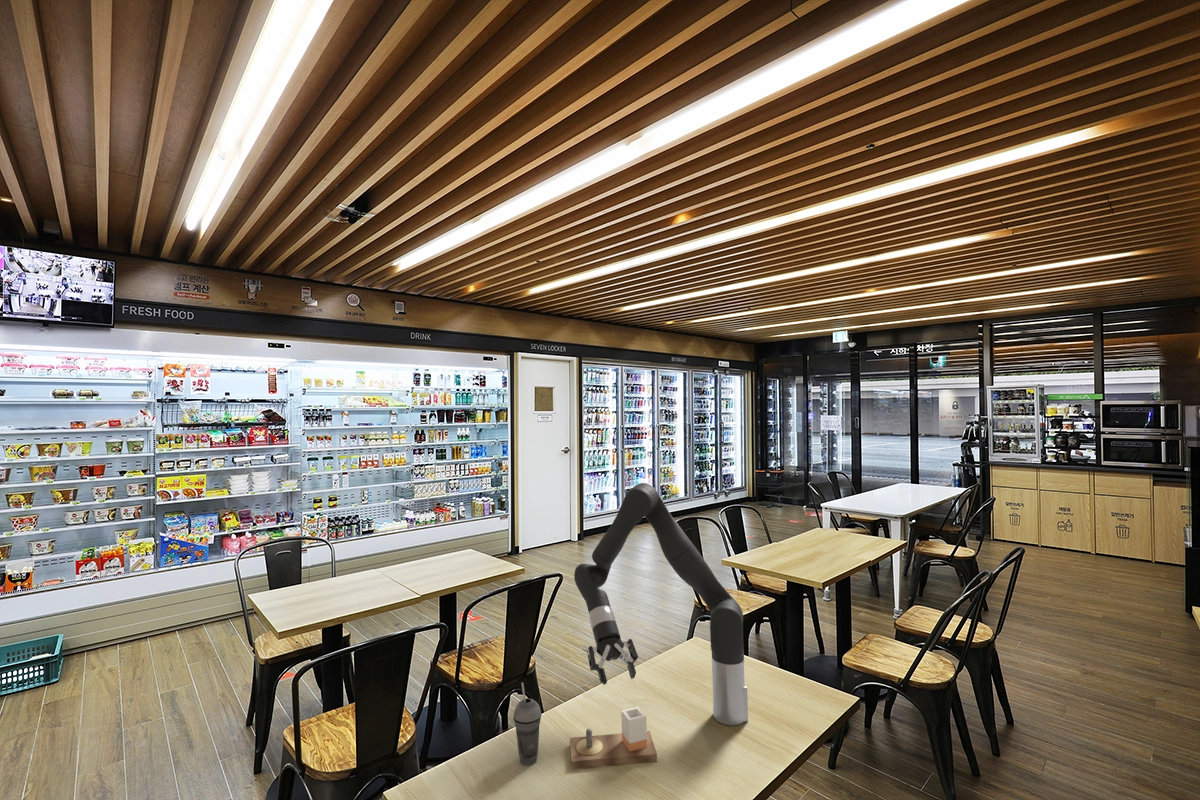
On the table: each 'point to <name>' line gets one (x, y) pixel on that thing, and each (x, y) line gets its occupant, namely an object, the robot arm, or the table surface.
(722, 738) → the table surface
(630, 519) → the robot arm
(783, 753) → the table surface
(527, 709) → the beverage cup
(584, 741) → the pin board
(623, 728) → the sleeve
